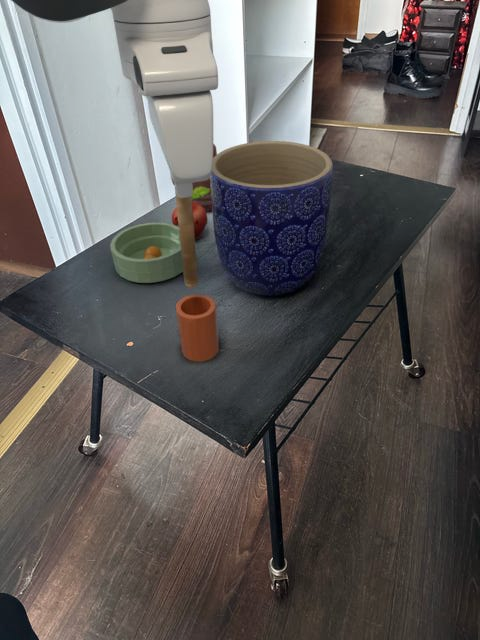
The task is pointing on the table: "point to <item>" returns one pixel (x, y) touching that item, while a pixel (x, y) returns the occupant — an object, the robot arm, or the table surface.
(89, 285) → the table surface
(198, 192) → the apple
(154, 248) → the bead
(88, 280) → the table surface
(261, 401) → the table surface
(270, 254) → the planter
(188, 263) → the stick
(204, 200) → the can
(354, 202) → the table surface
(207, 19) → the robot arm
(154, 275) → the bowl
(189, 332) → the crock
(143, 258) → the bead
